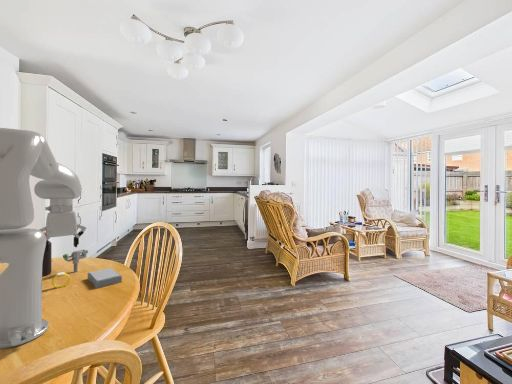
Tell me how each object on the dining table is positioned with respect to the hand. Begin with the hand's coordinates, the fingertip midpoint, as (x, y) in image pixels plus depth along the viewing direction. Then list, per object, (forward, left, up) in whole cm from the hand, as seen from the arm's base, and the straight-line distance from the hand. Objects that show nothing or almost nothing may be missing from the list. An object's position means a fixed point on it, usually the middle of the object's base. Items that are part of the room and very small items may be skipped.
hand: (61, 248), depth 102 cm
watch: (0, 0, -17) cm, 17 cm away
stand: (-5, -15, -16) cm, 23 cm away
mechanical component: (+16, -8, -17) cm, 24 cm away
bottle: (+22, +4, -17) cm, 28 cm away
